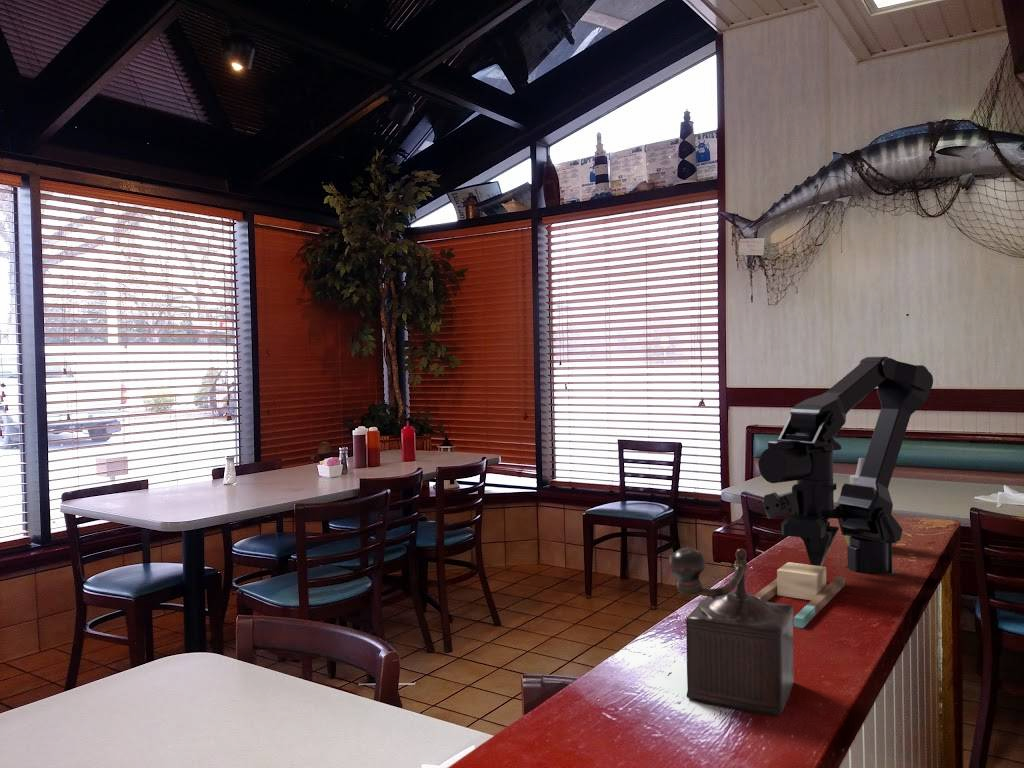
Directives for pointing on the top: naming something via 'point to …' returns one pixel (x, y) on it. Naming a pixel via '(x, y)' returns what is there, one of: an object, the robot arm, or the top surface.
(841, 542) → the top surface
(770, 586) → the chute
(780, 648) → the dark manual coffee grinder
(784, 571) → the block
